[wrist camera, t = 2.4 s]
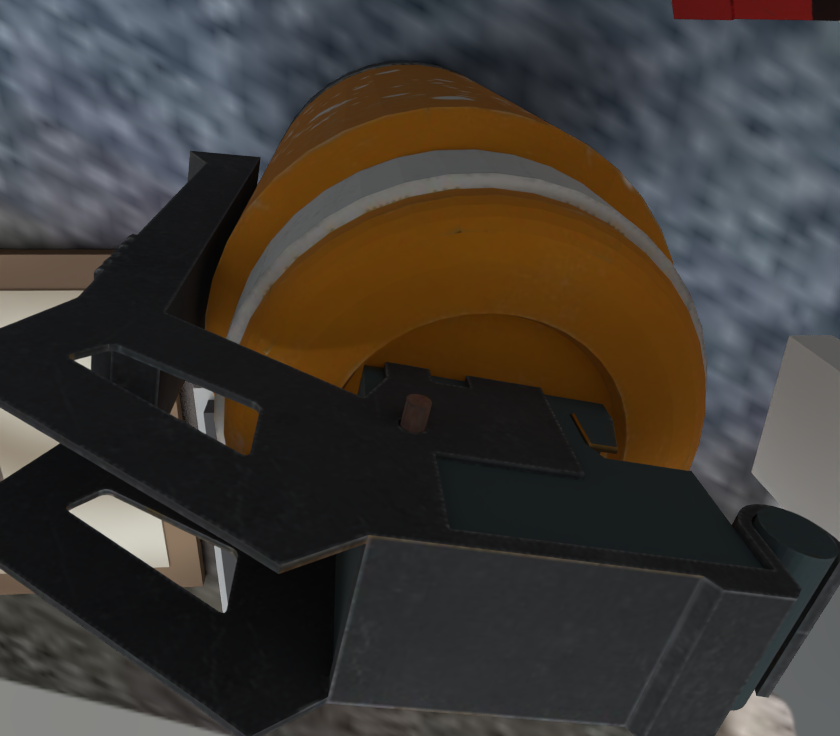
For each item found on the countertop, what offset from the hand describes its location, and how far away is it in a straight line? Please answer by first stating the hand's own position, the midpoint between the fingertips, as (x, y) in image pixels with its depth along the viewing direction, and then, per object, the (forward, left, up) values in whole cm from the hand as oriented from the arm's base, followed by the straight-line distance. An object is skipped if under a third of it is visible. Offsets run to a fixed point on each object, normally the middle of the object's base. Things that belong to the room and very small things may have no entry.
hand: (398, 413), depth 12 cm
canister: (0, 0, -15) cm, 15 cm away
